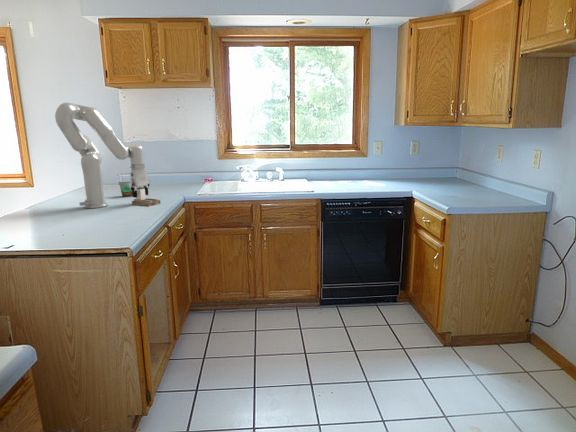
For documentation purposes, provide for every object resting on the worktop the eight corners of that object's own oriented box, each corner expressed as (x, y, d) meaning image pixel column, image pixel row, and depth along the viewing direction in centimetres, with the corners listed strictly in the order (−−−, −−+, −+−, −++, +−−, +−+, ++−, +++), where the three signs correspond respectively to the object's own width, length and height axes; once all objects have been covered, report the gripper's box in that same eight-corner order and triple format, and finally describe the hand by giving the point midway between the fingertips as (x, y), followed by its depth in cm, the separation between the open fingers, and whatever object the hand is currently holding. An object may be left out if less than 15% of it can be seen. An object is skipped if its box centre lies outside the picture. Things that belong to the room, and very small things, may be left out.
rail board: (149, 206, 243) (149, 201, 243) (132, 204, 249) (131, 199, 249) (160, 203, 251) (160, 198, 250) (143, 201, 257) (143, 197, 257)
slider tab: (141, 200, 249) (140, 188, 247) (136, 199, 251) (135, 187, 249) (145, 199, 252) (144, 187, 250) (140, 198, 254) (139, 187, 252)
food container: (118, 197, 272) (117, 182, 270) (119, 196, 278) (118, 181, 276) (138, 196, 275) (137, 181, 273) (139, 195, 281) (137, 180, 279)
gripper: (131, 168, 238) (134, 199, 242) (153, 165, 253) (155, 194, 257) (121, 168, 241) (124, 198, 245) (144, 165, 256) (146, 193, 260)
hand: (140, 195), depth 251 cm, fingers open, 8 cm apart
